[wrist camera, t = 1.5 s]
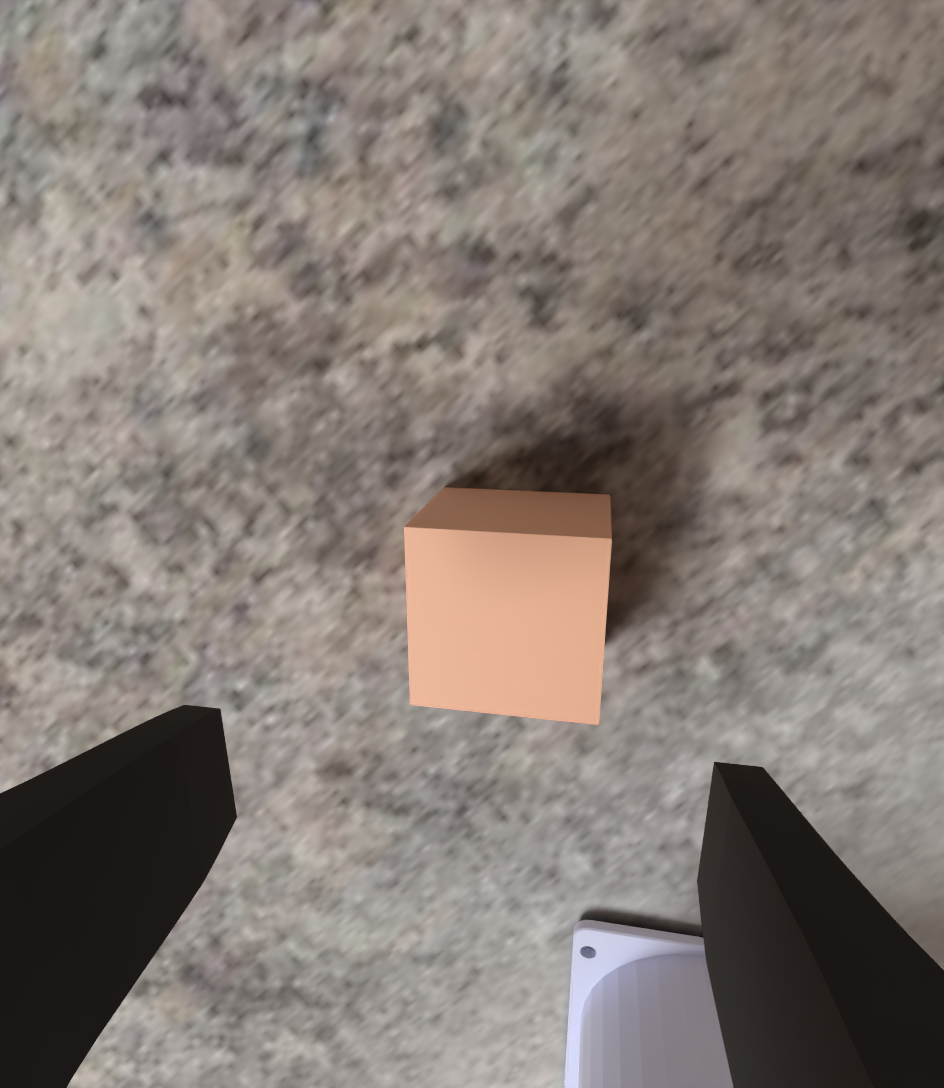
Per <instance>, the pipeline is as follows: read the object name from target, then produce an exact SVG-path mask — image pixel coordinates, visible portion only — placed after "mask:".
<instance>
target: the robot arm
mask: <svg viewBox="0 0 944 1088" xmlns="http://www.w3.org/2000/svg"><path fill="white" fill-rule="evenodd" d="M236 818H237V815H236V808H235V801H234V795H233V788H232V782H231V775H230V769H229V762H228V756H227V749H226V743H225V736H224V730H223V723H222V717H221V710H220V709H218V708H209V707H199V706H190V705H183V706H180V707H178V708H175V709H173V710H170V711H168V712H166V713H163V714H161V715H159V716H157V717H155V718H153V719H150V720H148V721H146V722H144V723H142V724H140V725H138V726H136V727H134V728H132V729H130V730H128V731H126V732H124V733H122V734H120V735H118V736H116V737H114V738H112V739H110V740H108V741H106V742H104V743H102V744H100V745H98V746H96V747H94V748H92V749H90V750H88V751H86V752H84V753H82V754H80V755H78V756H76V757H74V758H72V759H70V760H68V761H66V762H64V763H62V764H60V765H58V766H56V767H54V768H52V769H50V770H48V771H46V772H44V773H42V774H40V775H38V776H36V777H34V778H32V779H30V780H28V781H26V782H24V783H22V784H19V785H17V786H15V787H13V788H11V789H9V790H7V791H5V792H2V793H0V1088H66V1087H67V1086H68V1084H69V1082H70V1080H71V1079H72V1077H73V1075H74V1074H75V1072H76V1071H77V1069H78V1068H79V1066H80V1064H81V1063H82V1061H83V1060H84V1058H85V1057H86V1055H87V1053H88V1052H89V1050H90V1049H91V1047H92V1046H93V1044H94V1043H95V1041H96V1039H97V1038H98V1036H99V1035H100V1033H101V1032H102V1030H103V1029H104V1028H105V1026H106V1025H107V1023H108V1022H109V1020H110V1019H111V1017H112V1016H113V1014H114V1013H115V1012H116V1010H117V1009H118V1007H119V1006H120V1004H121V1003H122V1001H123V1000H124V998H125V997H126V996H127V994H128V993H129V991H130V990H131V988H132V987H133V985H134V984H135V982H136V981H137V979H138V978H139V977H140V975H141V974H142V972H143V971H144V969H145V968H146V966H147V965H148V963H149V962H150V961H151V959H152V958H153V956H154V955H155V953H156V952H157V950H158V949H159V947H160V946H161V945H162V943H163V942H164V940H165V939H166V937H167V936H168V934H169V933H170V931H171V930H172V928H173V927H174V925H175V924H176V923H177V921H178V920H179V918H180V917H181V915H182V914H183V912H184V911H185V909H186V908H187V906H188V905H189V903H190V902H191V900H192V899H193V897H194V896H195V894H196V893H197V891H198V890H199V888H200V887H201V885H202V884H203V882H204V880H205V878H206V877H207V875H208V873H209V871H210V869H211V867H212V865H213V864H214V862H215V860H216V858H217V856H218V854H219V852H220V850H221V848H222V846H223V844H224V842H225V840H226V838H227V836H228V834H229V832H230V830H231V828H232V826H233V824H234V822H235V820H236ZM697 883H698V893H699V903H700V912H701V922H702V931H703V937H697V936H690V935H684V934H677V933H671V932H665V931H658V930H652V929H645V928H639V927H633V926H626V925H620V924H613V923H607V922H601V921H594V920H582V921H579V922H578V923H577V924H576V925H575V927H574V936H573V952H572V969H571V985H570V1001H569V1018H568V1034H567V1050H566V1067H565V1083H564V1088H944V970H943V969H942V968H941V967H940V966H939V965H938V964H937V963H936V962H935V961H934V960H933V959H932V958H931V957H930V956H929V955H928V954H927V953H926V952H925V951H924V950H923V949H922V948H921V947H920V946H919V945H918V944H917V943H916V942H915V941H914V940H913V939H912V938H911V937H910V936H909V935H908V934H907V933H906V932H905V930H904V929H903V928H902V927H901V926H900V925H899V924H898V923H897V922H896V921H895V920H894V919H893V918H892V917H891V916H890V914H889V913H888V912H887V911H886V910H885V909H884V908H883V907H882V906H881V904H880V903H879V902H878V901H877V900H876V899H875V898H874V897H873V896H872V894H871V893H870V892H869V891H868V890H867V889H866V888H865V887H864V885H863V884H862V883H861V882H860V881H859V880H858V879H857V878H856V877H855V875H854V874H853V873H852V872H851V871H850V870H849V869H848V868H847V866H846V865H845V864H844V863H843V862H842V861H841V860H840V858H839V857H838V856H837V855H836V854H835V853H834V851H833V850H832V849H831V848H830V847H829V846H828V844H827V843H826V842H825V841H824V840H823V839H822V837H821V836H820V835H819V834H818V833H817V831H816V830H815V829H814V828H813V827H812V825H811V824H810V823H809V822H808V821H807V820H806V818H805V817H804V816H803V815H802V813H801V812H800V811H799V810H798V809H797V807H796V806H795V805H794V804H793V803H792V801H791V800H790V799H789V798H788V797H787V795H786V794H785V793H784V792H783V791H782V789H781V788H780V787H779V786H778V785H777V783H776V782H775V781H774V780H773V779H772V777H771V776H770V775H769V774H768V773H767V772H766V770H765V769H764V768H763V767H757V766H748V765H739V764H729V763H720V762H714V766H713V774H712V781H711V788H710V795H709V802H708V809H707V816H706V823H705V830H704V837H703V844H702V851H701V858H700V865H699V872H698V879H697ZM584 946H589V947H592V948H587V947H584Z"/></svg>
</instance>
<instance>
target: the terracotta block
mask: <svg viewBox="0 0 944 1088" xmlns="http://www.w3.org/2000/svg"><path fill="white" fill-rule="evenodd" d="M404 538H405V568H406V597H407V627H408V657H409V687H410V705H416V706H426V707H435V708H444V709H454V710H463V711H473V712H482V713H491V714H501V715H510V716H519V717H529V718H538V719H548V720H557V721H566V722H576V723H585V724H595V725H599V715H600V701H601V687H602V673H603V659H604V645H605V630H606V616H607V602H608V588H609V574H610V559H611V545H612V527H611V501H610V495H608V494H585V493H563V492H540V491H517V490H495V489H472V488H450V487H444V488H443V489H442V490H441V491H440V492H439V493H438V494H437V495H436V496H435V497H434V498H433V499H432V500H431V501H430V502H429V503H428V504H427V505H426V506H425V507H424V508H423V509H422V510H421V511H420V512H419V513H418V514H417V515H416V516H415V517H414V518H413V519H412V520H411V521H410V522H409V523H408V524H407V525H406V526H405V527H404Z"/></svg>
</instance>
